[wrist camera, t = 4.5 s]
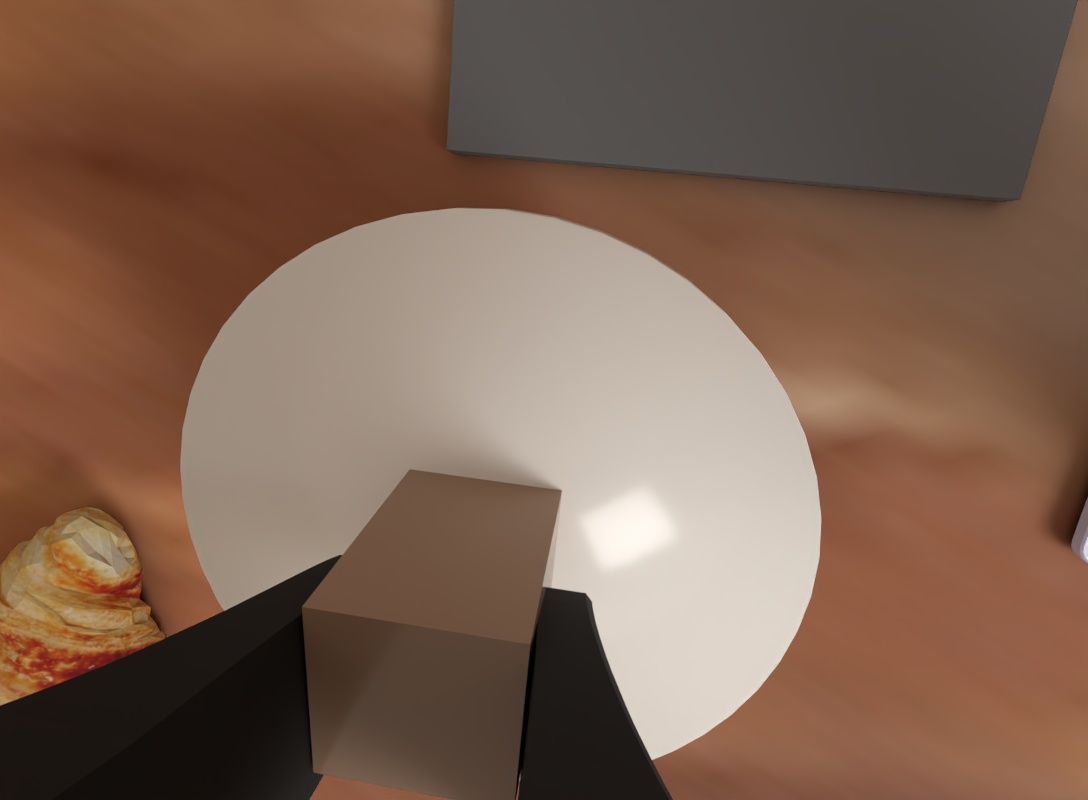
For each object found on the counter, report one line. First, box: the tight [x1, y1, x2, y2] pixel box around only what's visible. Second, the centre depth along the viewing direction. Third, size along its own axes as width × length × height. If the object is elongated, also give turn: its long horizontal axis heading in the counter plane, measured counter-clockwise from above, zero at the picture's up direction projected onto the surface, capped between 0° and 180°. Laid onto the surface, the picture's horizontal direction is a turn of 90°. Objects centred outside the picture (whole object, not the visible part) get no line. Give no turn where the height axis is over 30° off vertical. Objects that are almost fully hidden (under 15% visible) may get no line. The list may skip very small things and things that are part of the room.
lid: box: [180, 208, 821, 800], centre depth 9 cm, size 11×11×4 cm
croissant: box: [0, 507, 165, 705], centre depth 20 cm, size 21×10×8 cm, turn 165°
